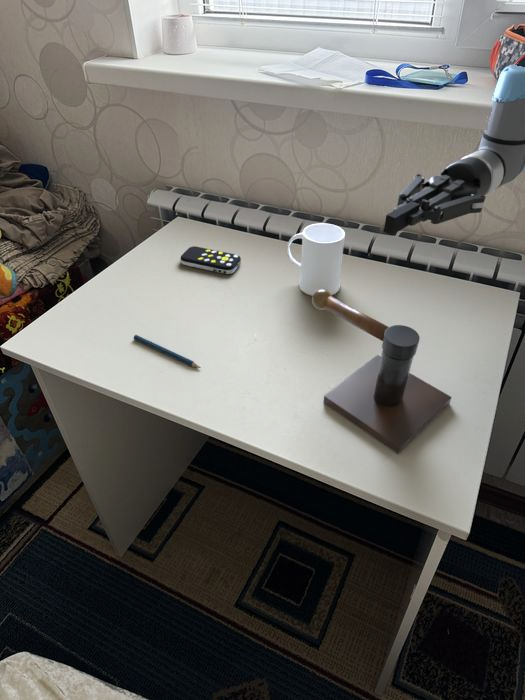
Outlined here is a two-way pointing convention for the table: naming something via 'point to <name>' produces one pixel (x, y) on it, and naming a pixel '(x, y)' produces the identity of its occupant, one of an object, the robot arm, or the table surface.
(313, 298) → the handle
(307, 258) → the mug
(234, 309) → the table surface
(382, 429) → the valve stand
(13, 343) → the table surface
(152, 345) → the pencil
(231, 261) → the remote control
